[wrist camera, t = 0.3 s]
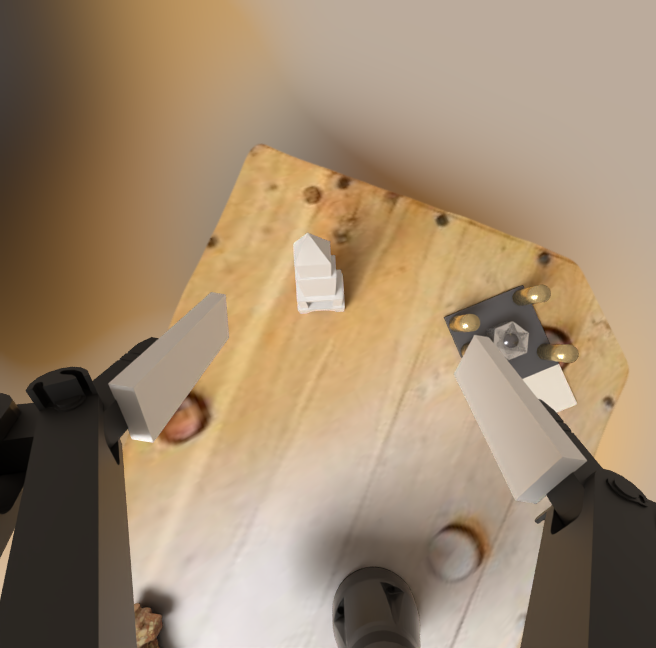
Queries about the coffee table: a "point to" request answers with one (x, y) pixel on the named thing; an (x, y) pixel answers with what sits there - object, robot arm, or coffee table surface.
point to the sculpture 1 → (147, 627)
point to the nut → (509, 339)
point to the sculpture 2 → (317, 276)
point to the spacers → (521, 298)
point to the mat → (533, 370)
